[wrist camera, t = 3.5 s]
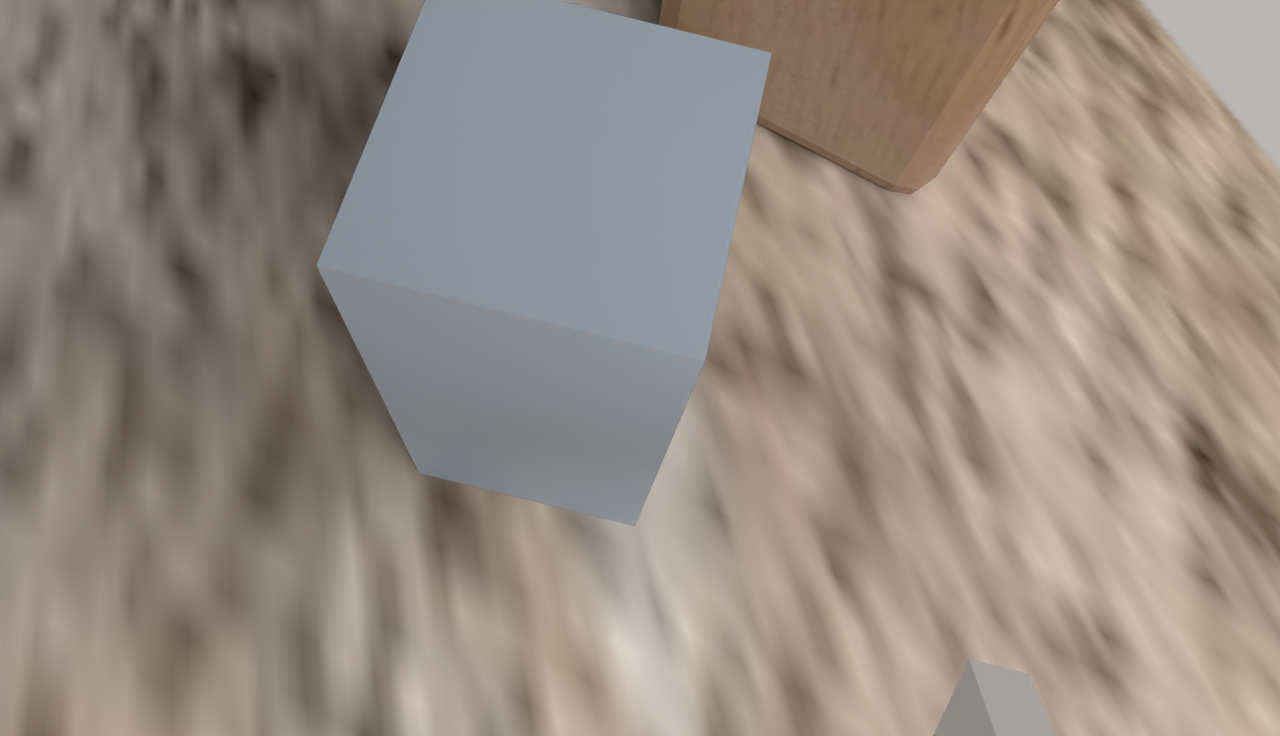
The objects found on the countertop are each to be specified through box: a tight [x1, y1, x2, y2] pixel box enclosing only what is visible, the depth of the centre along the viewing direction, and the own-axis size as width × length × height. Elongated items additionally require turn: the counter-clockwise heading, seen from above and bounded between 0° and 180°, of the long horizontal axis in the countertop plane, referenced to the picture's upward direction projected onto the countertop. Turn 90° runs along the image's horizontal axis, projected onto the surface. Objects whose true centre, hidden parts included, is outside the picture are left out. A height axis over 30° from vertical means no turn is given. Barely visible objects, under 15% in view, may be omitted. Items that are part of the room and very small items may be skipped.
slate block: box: [316, 0, 771, 526], centre depth 21 cm, size 6×6×12 cm
